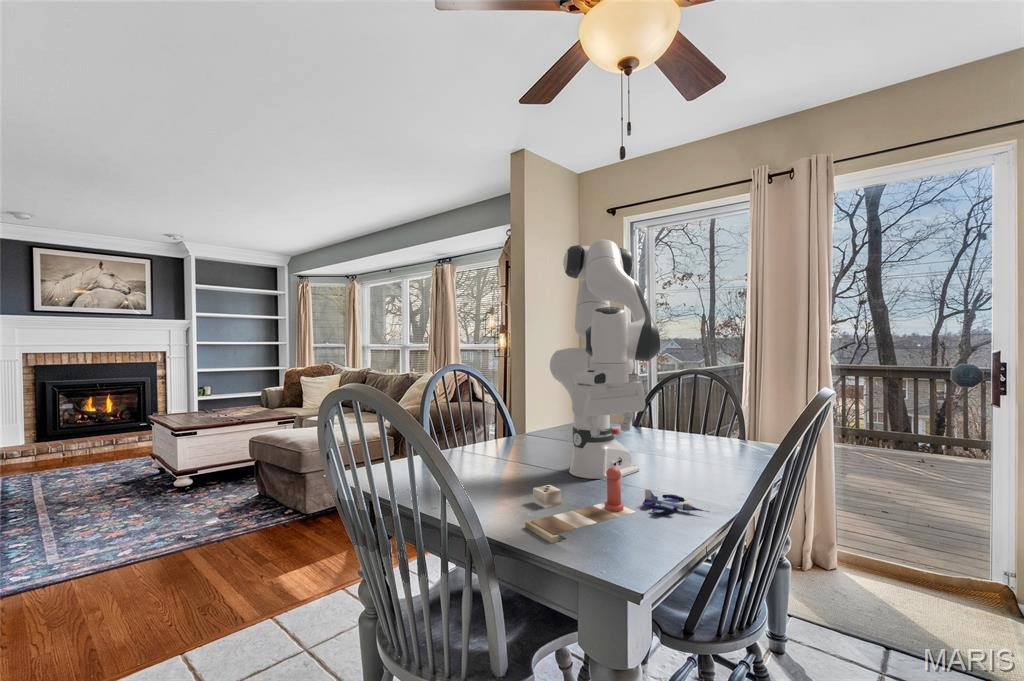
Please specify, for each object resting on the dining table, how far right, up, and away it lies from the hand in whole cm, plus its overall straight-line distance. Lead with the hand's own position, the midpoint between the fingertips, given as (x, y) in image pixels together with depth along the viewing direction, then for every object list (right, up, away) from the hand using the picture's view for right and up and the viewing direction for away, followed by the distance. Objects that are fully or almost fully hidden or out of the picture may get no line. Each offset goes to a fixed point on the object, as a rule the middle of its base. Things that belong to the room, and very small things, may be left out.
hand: (610, 433), depth 115 cm
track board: (-7, -20, -4) cm, 21 cm away
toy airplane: (+14, -20, -1) cm, 24 cm away
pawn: (+1, -18, 0) cm, 18 cm away
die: (-15, -20, +5) cm, 25 cm away
